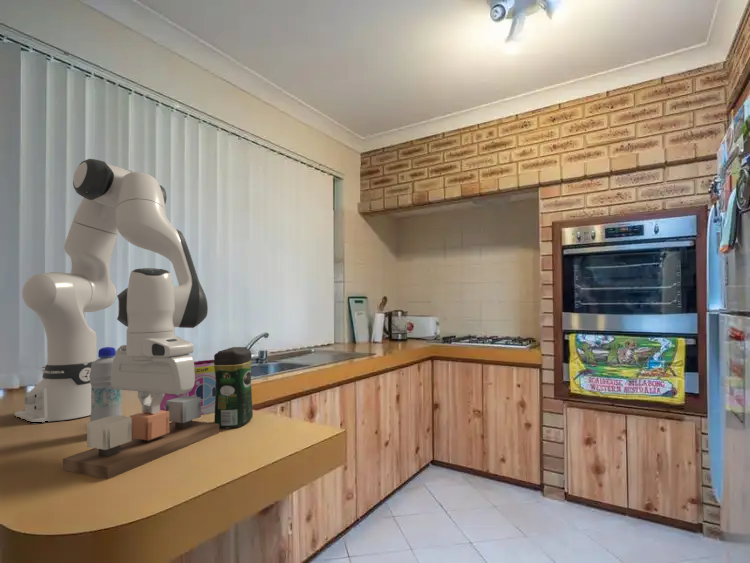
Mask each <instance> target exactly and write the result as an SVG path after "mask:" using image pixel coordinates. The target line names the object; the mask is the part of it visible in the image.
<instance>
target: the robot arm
mask: <svg viewBox="0 0 750 563" xmlns="http://www.w3.org/2000/svg"><path fill="white" fill-rule="evenodd" d="M72 185H73V189H74V190H75V192H76V194H78V195H79V196H81V197H83V198H82V200H81V202H80V204H79V205H78V207H77V209H76V212H75V213H74V217H73V219H72V221H71V224H70V228H69V230H68V233H67V236H66V239H65V242H64V245H63V246H64V247H63V249H64V251H65V253H66V254H67V256H68V257H70V261H71V271H70V272H60V271H59V272H57V271H52V272H44V273H39V274H35V275H32V276H30V277H29V278H28V279H27V281H26V282H25V283H24V284H23V287H22V291H21V292H22V300H23V301H24V304H25V305H26V306H27V307H28V308H29V309H31V310H32V311H33V312H34V313H35V314H36V315H37V316H38V318H39V320H40V321H41V323H42V325H43V328H44V331H45V334H46V340H47V341H46V342H47V343H46V344H47V347H46V348H47V349H46V350H47V364H46V365H45V366H42V367H41V368H42V370H41V372H43V373H42V379H41V381H39V382H38V383H37V384H36V385H35V386H34V387H33V388H32V389H31V390H29V392H28V393H27V394H26V396H24V398H23V399H24V400H23V402H24V404H25V409H23V410H19V411H16V412H14V414H15V415H17V416H20V417H22V418H24V419H26V420H29V421H31V422H42V423H46V422H45V421H48V422H57V421H65V420H66V421H68V420H73V419H79V418H83V417H88V416H91V384H90V377H89V375H90V370H91V364H92V362H94V361H96V360H97V359H98V358H97V357H98V353H97V352H98V349H97V348H98V336H97V332H96V331H95V330H94V329H93V328H91V327H90V326H89V324H88V322H87V321H86V320H87V319H86V317H85V315H84V313H93V312H98V311H101V310H104V309H107V308H109V307H111V306H112V305H113V304H114V303H115V300H116V299H118V300H117V301H118V302H117V305H118V308H117V311H118V312H117V318H116V320H117V321H119V322H120V324H122V325H124V326H125V327H127V328H126V334H125V335H126V338H125V339H126V344H122V345H120V346H119V347H118V348H117V349H116V350H115V351H116V353H115V356H114V359H113V363H112V369H111V381H110V383H111V386H112V388H113V389H116V390H122V391H131V392H133V391H134V392H137V399H138V400H139V402H140V404H141V407H142V408H141V413H142V412H143V413H146V414H157V413H159V412H160V403H161V401H162V399H163V397H164V393H167V394H183V393H186V392H190V391H191V390H192V388H193V387H194V383H195V370H194V362H195V360H194V358H193V356H192V355H191V354H193V353H194V349H195V348H194V347H195V346H194V344H193V343H192V342H190V341H188V340H186V339H184V338H182V337H180V336H178V335H175V334H176V330H175V328H179V329H180V328H183V329H185V328H186V329H188V328H189V329H194V328H196V327H197V326H199V325H201V323H202V322H203V321H204V320H206V318H207V316H208V310H209V305H208V300H207V296H206V294H205V293H206V292H205V291H204V289H203V287H202V285H201V283H200V280H199V276H198V273H197V270H196V267H195V265H194V261H193V258H192V255H191V252H190V249H189V246H188V244H187V240H186V238H185V236H184V235H183V233H182V231H180V230H179V229H177V228H175V227H174V225H173V224H171V222H170V221H169V219H168V217H167V212H166V210H167V209H166V204H167V191H166V189H165V188H164V187H163V186H162V185H161V184H160V183H159V182H158V180H157V179H156V178H155V177H154V176H153V175H150V174H149V173H146V172H142V171H132V170H129V169H128V170H127V169H126V168H123V167H120V166H116V165H114V164H110V163H106V161H103V160H100V159H95V158H88V159H84V160H82V161H81V162H80V163H79V165H78V166H77V167H76V169H75V171H74V172H73V179H72ZM119 234H120V236H121V237H123V239H124V240H126V241H127V242H128V243H130V244H132V245H133V246H135V247H137V248H141V249H144V250H147V251H151V252H153V253H155V254H158V255H161V256H163V257H164V258H166V259H168V260H169V261H170V263H171V264H172V266H173V269H174V273H175V276H176V279H177V282H178V285H174V282H173V277H172V273H171V271H168V270H167V269H163V268H150V267H145V268H135V269H133V270H131V272H130V273H129V277H128V285H127V288H125V289H124V290H122V291H121V292H120V293H118V294H117V289H116V286H115V284H114V283H113V282H112V281H113V280H112V278H111V270H110V268H111V260H112V255H113V252H114V249H115V245H116V242H117V239H118V236H119ZM151 398H152V399H151ZM14 414H13V415H14Z"/></svg>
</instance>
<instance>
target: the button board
mask: <svg viewBox="0 0 750 563" xmlns="http://www.w3.org/2000/svg"><path fill="white" fill-rule="evenodd" d="M219 433H220V427H219V424H217V423H214V422H207V421H206V422H205V421H199V420H190V421H187V422H185V423H178V422H169V433H167V434H164V435H162V436H159V437H156V438H153V439H151V440H142V439H135V438H132V441H130V442H127V443H124V444H121V445H118V446H116V447H113V448H110V449H107V450H103V449H97V448H90V449H86V450H84V451H82V452H79V453H75V454H71V455H69V456H66V457H63V458H62V471H67V472H70V473H77V474H81V475H86V476H90V477H96V478H101V479H105V480H109V479H111V478H114V477H117V476H118V475H121V474H123V473H126V472H128V471H131V470H133V469H135V468H138V467H140V466H143V465H145V464H147V463H150V462H152V461H155V460H157V459H159V458H162V457H164V456H166V455H169V454H171V453H174V452H176V451H178V450H180V449H183V448H186V447H188V446H191V445H193V444H196V443H198V442H200V441H202V440H205V439H208V438H210V437H212V436H215V435H216V434H219Z"/></svg>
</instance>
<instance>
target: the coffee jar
mask: <svg viewBox="0 0 750 563" xmlns="http://www.w3.org/2000/svg"><path fill="white" fill-rule="evenodd" d="M213 357H214V358H213V360H214V369H215V379H216V385H215V413H214V422H213V423H217V424H219V428H222V429H231V428H236V427H242V426H245V425H247V423H248V422H250V421H251V419H252V418H253V415H254V412H253V411H254V409H253V395H252V394H253V393H252V352H251V350H250V349H248V348H247V347H245V346H232V347H228V348H226V349H221V350H218V351H217V353H215V354H214V355H213Z"/></svg>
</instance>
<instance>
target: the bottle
mask: <svg viewBox="0 0 750 563" xmlns="http://www.w3.org/2000/svg"><path fill="white" fill-rule="evenodd" d="M116 351H117V350H116V348H115V347H111V346H106V347H104V346H103V347H101V348H100V349H99V350H98V351H97V352H98V353H97V357H98V358H97V360H96V361H94V362H92V364H91V370H90V375H89V377H90V384H91V415H90V417H89V422H91V421H94V420H98V419H102V418H105V417H109V416H113V415H116V416H123V410H122V408H123V407H122V397H123V396H122V395H123V394H122V391H123V390H116V389H113V388H112V386H111V383H110V381H111V369H112V363H113V359H114V357H115V353H116Z"/></svg>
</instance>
